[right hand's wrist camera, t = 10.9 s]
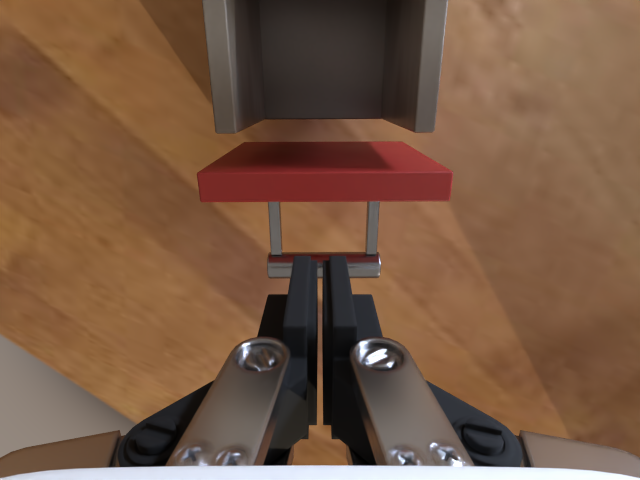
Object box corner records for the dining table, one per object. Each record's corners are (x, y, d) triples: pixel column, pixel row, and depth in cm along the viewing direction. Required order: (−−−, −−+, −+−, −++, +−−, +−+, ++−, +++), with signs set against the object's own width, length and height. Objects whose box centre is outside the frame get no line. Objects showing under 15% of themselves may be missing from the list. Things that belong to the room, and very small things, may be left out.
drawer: (394, 248, 26) (434, 330, 17) (251, 249, 26) (215, 331, 17) (424, -155, 18) (526, -393, 9) (220, -153, 18) (125, -390, 9)
